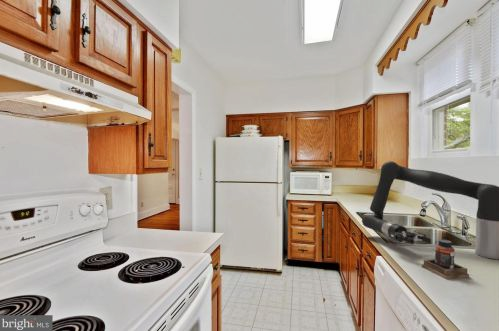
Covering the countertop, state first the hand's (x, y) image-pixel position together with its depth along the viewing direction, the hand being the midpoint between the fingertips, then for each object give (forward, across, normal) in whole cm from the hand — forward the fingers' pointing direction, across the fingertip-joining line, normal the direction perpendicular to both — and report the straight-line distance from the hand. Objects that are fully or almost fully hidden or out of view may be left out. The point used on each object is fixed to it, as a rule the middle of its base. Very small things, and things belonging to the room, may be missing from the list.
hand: (421, 241), depth 107 cm
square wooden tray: (+10, 0, +8) cm, 14 cm away
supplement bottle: (+10, 0, +8) cm, 13 cm away
